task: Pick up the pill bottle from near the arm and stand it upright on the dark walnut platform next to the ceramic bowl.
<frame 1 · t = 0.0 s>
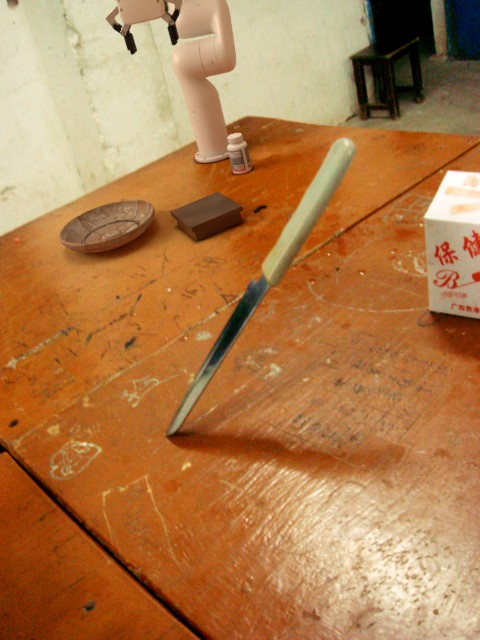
hand: (154, 48, 142), 37 cm above the table, tool pointing down, fingers open, 9 cm apart
pill bottle: (242, 171, 173), on the table
ceramic bowl: (113, 239, 155), on the table
platform: (209, 224, 149), on the table
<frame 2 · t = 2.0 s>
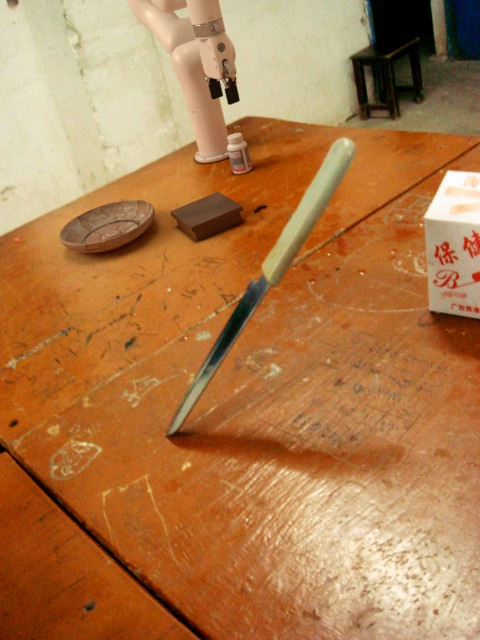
hand: (225, 100, 163), 19 cm above the table, tool pointing down, fingers open, 9 cm apart
nothing on the table moved.
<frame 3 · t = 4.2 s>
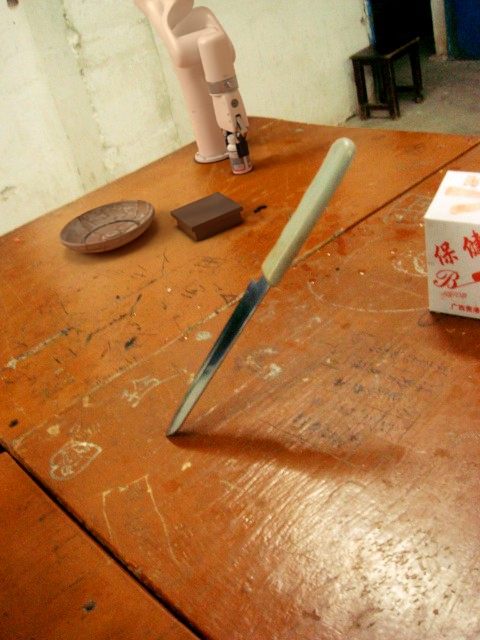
hand: (238, 153, 171), 5 cm above the table, tool pointing down, fingers closed on pill bottle, 5 cm apart
pill bottle: (242, 171, 173), on the table, touching gripper
everything else where it was.
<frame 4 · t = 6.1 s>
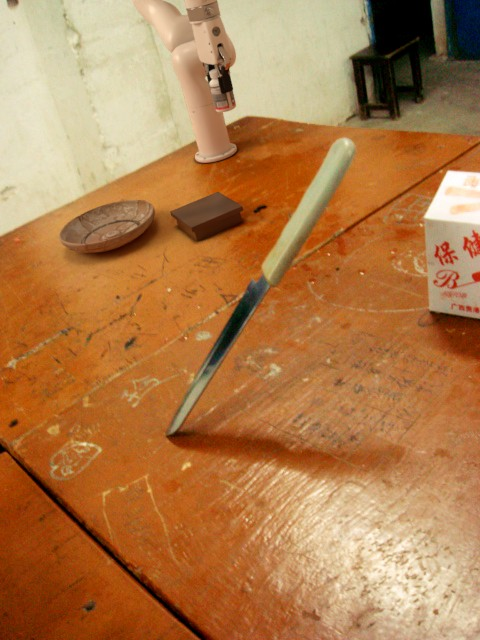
hand: (221, 89, 160), 22 cm above the table, tool pointing down, fingers closed on pill bottle, 5 cm apart
pill bottle: (226, 110, 163), point 17 cm above the table, touching gripper
everything else where it was.
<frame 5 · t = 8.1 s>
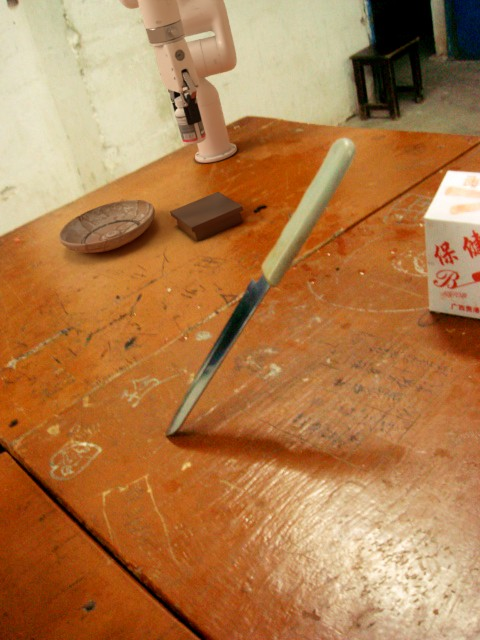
hand: (189, 119, 140), 23 cm above the table, tool pointing down, fingers closed on pill bottle, 5 cm apart
pill bottle: (195, 142, 143), point 18 cm above the table, touching gripper
everything else where it was.
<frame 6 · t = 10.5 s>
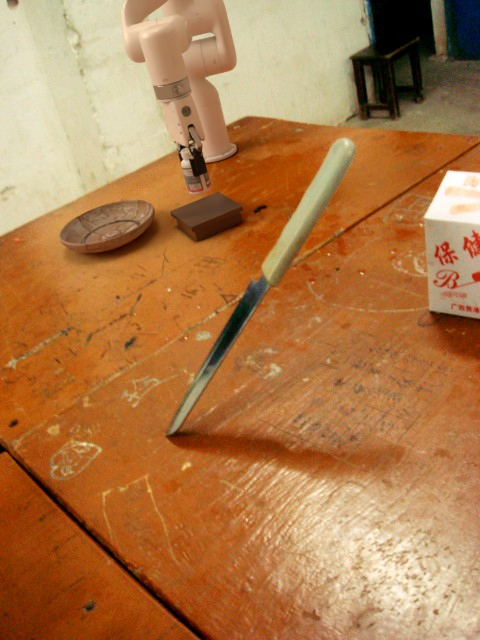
hand: (194, 170, 142), 13 cm above the table, tool pointing down, fingers closed on pill bottle, 5 cm apart
pill bottle: (200, 191, 145), point 8 cm above the table, touching gripper
everything else where it was.
when the fingers open (9 cm above the table, at t = 12.1 s): pill bottle stays where it is, resting on platform.
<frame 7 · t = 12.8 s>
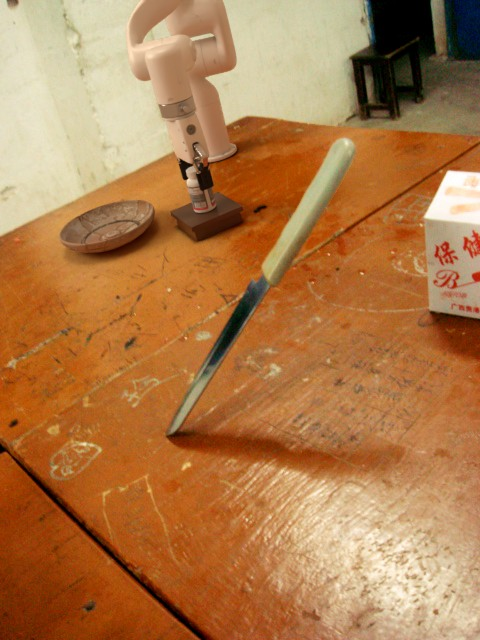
hand: (198, 183, 144), 10 cm above the table, tool pointing down, fingers open, 9 cm apart
pill bottle: (205, 209, 147), point 4 cm above the table, touching platform
everything else where it was.
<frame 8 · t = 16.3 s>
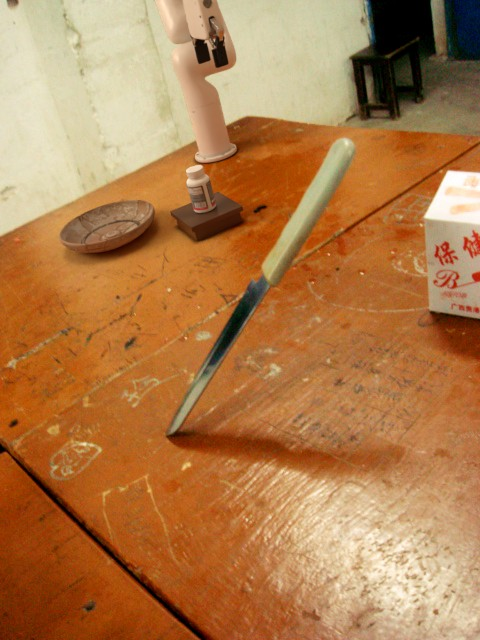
hand: (213, 64, 148), 30 cm above the table, tool pointing down, fingers open, 9 cm apart
nothing on the table moved.
at the end: pill bottle inside the target area on the platform (0.1 cm from its centre), point 3.8 cm above the platform's base; pill bottle tilted 0° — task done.
